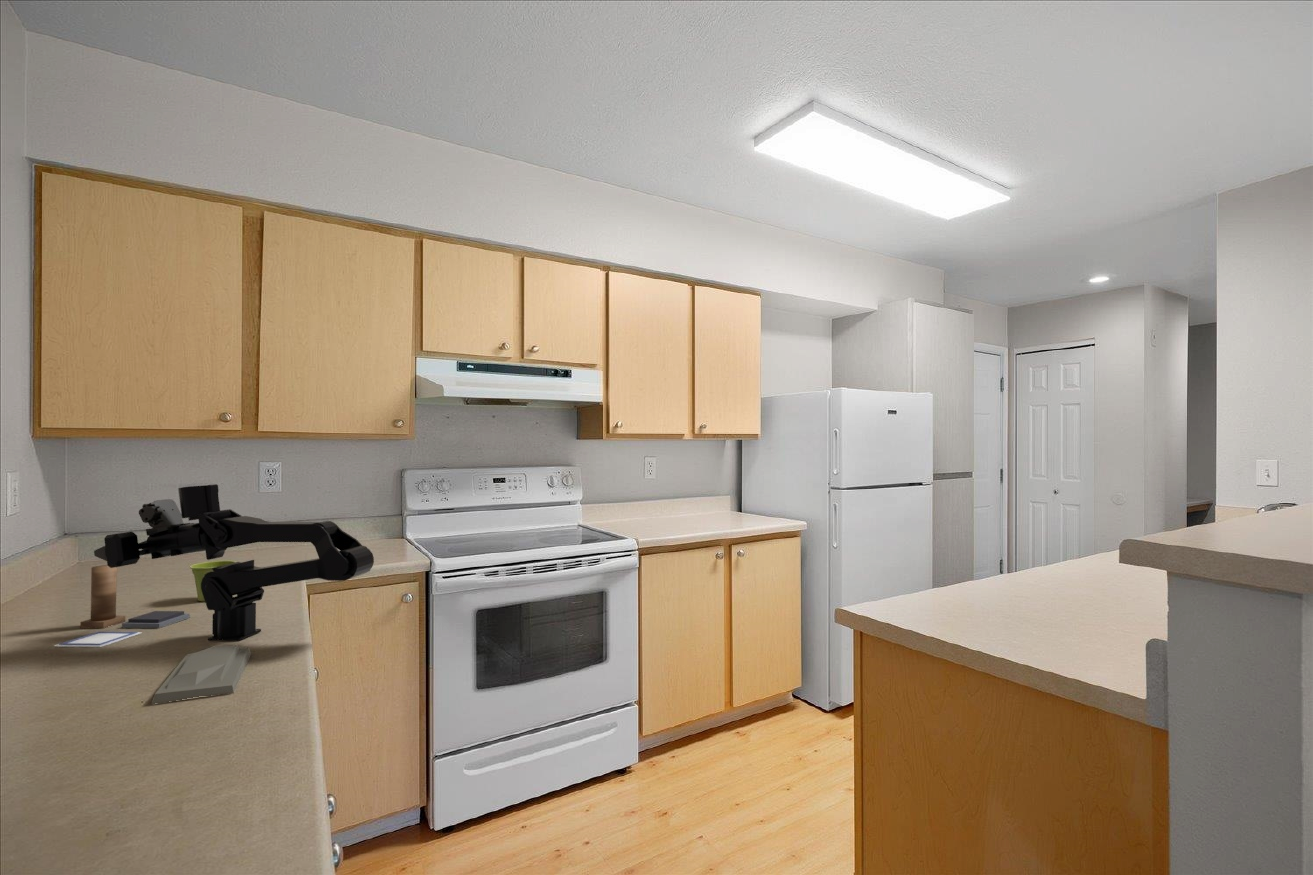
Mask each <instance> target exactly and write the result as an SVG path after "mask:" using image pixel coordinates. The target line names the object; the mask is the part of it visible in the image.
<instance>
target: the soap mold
mask: <svg viewBox="0 0 1313 875" xmlns="http://www.w3.org/2000/svg"><path fill="white" fill-rule="evenodd" d="M250 657H251V651H250V648H249V646H244V647H239V646H238V644H227V645H226V644H225V645H222V644H221V645H214V646H211V647H208V648H204V649H202V650H199V651H197V652H192V653H186V655H185V656H184V658H182V659H181V661H180V662H179V664H178V665H177V666H176V667H175V669H173V671H172V672H171V673H170V674H169V676H168V677H167V678H166V680H165V681H164V682H163V683H162V685H161V686H160V687H159V688H158V689H157V690H156V692H155V693H154V695H153V699H152V701H151V703H150V705H151V704H155V703H163V704H165V703H164V702H169V701H176V700H182V699H187V698H193V697H199V696H211V695H218V694H226V695H229V694H228V693H233V694H235V692H236V690H237V687H238V685H237V684H239V683H238V682H240V681H241V678H242V675H243V674H244V672H245V669H246V667H247V665H248V663H247V662H249V659H251V658H250ZM239 680H240V681H239ZM234 691H235V692H234ZM211 697H212V696H211Z"/></svg>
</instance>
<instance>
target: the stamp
mask: <svg viewBox="0 0 1313 875" xmlns="http://www.w3.org/2000/svg"><path fill="white" fill-rule="evenodd" d="M117 568H118V567H114V568H110V567H109V566H108V565H107V564H105V565H104V564H102V565H97V566H96V565H95V566H92V567H91V568H90V570H91V573H90V574H91V576H90V578H91V579H90V619H89V618H88V619H87V620H83V621H82V620H81V621H79V622H80V629H106V627H107V628H109V627H108V626H110V627H112V626H111V625H113V626H116V625H119V624H122V623H125V622H126V615H117V581H118V580H117V577H118V576H117V575H118V574H117V573H118V572H117V571H118V569H117Z"/></svg>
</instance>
